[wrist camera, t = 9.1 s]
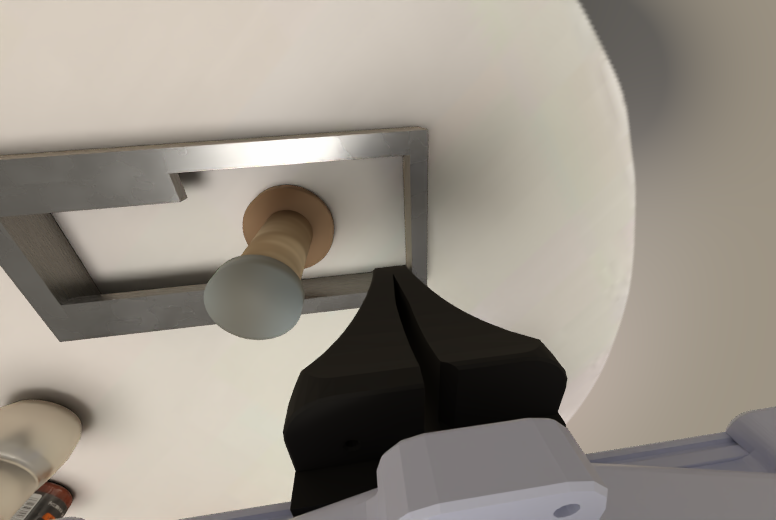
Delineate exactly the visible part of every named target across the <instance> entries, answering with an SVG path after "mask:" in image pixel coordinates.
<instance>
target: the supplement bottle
mask: <svg viewBox="0 0 776 520" xmlns="http://www.w3.org/2000/svg"><path fill="white" fill-rule="evenodd" d="M71 503H72V495H71V494H70V492H69V491H68V490H67V489H66V488H64V487H63V486H61V485H58V484H55V483H52V482H45V483H44V484H43V485H42V486H41V487H40V488H39V489H38V490H36V491H35V492H34V493H33V494H32V495H31V497H30V498H29V499H28V500H27V501H26V502H25V503H24V504H23V505H22V506H21V508H20V509H19V510H18V511H17V512H16V513H15V514H14V515H13V516H12V517H11V519H10V520H52V519H58V518H63V516H64V515H65V514H66V512H67V510H68V508H69V507H70V505H71Z"/></svg>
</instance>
